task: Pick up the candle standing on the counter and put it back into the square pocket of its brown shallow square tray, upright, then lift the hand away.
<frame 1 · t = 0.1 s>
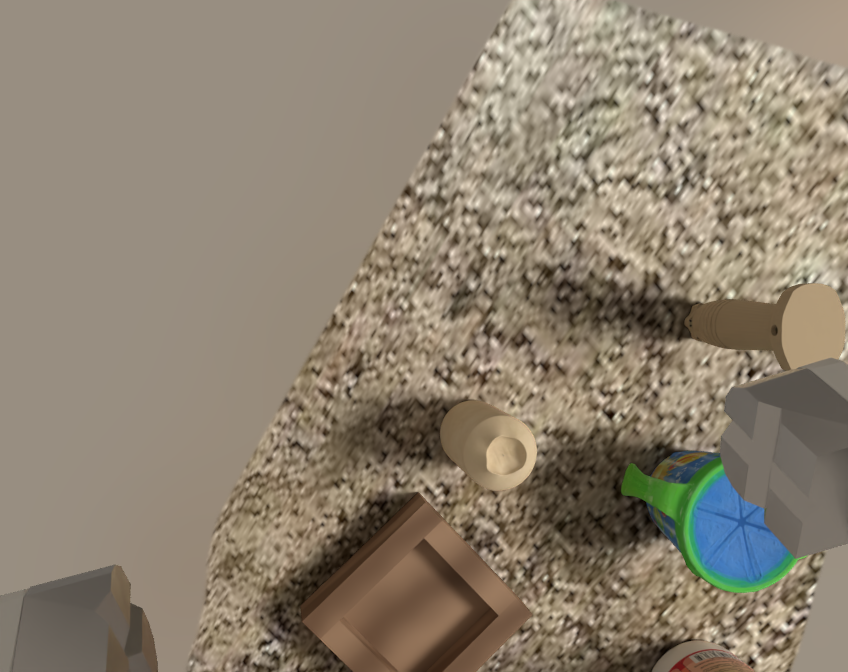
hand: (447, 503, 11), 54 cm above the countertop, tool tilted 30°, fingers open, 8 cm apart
brown shallow square tray: (413, 602, 67), on the countertop
snack cup: (680, 491, 71), on the countertop
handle: (698, 321, 70), on the countertop
candle: (471, 432, 67), on the countertop
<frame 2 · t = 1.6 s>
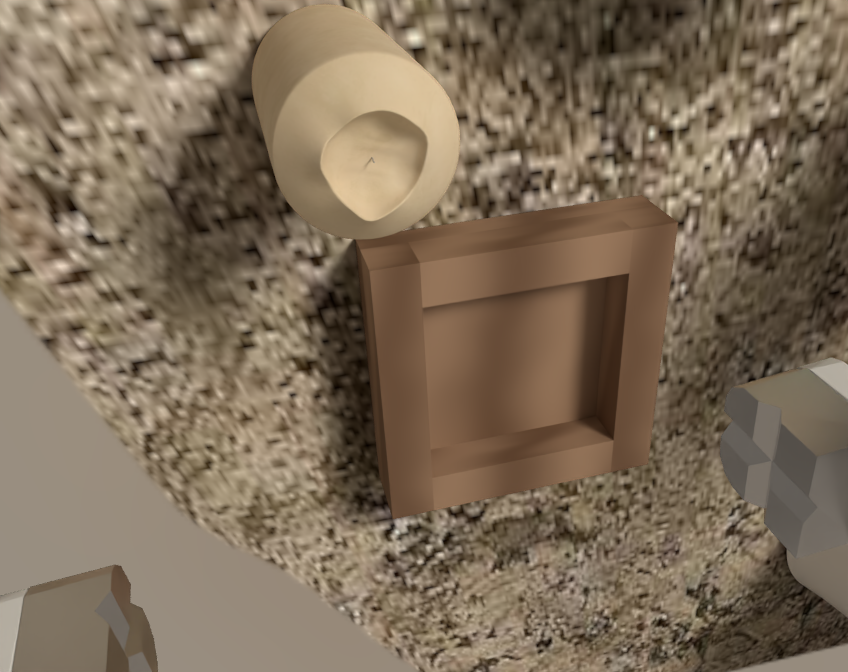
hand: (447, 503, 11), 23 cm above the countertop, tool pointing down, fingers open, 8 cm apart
brown shallow square tray: (502, 343, 38), on the countertop
candle: (324, 79, 31), on the countertop
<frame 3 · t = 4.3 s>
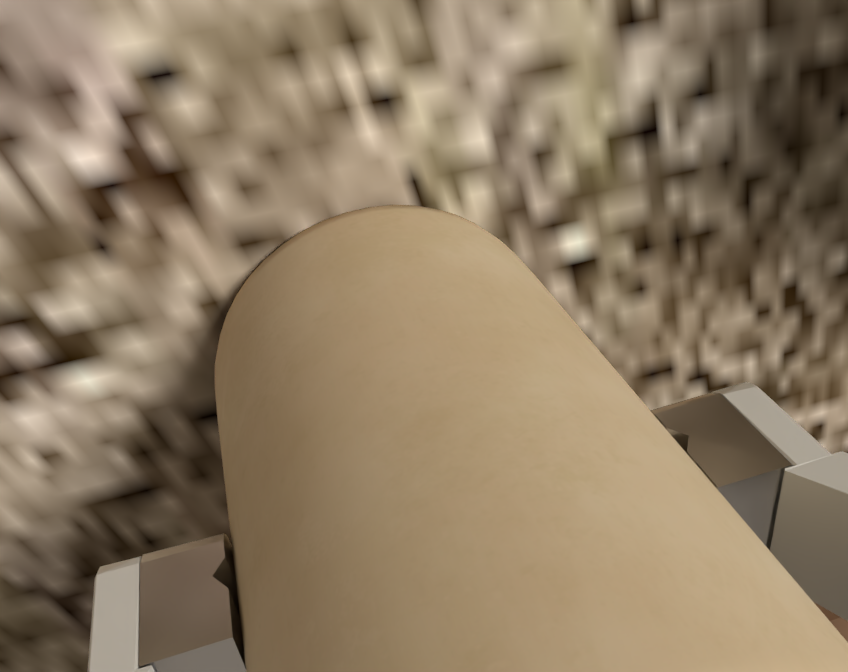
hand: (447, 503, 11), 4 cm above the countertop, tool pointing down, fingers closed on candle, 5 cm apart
candle: (379, 348, 14), on the countertop, touching gripper
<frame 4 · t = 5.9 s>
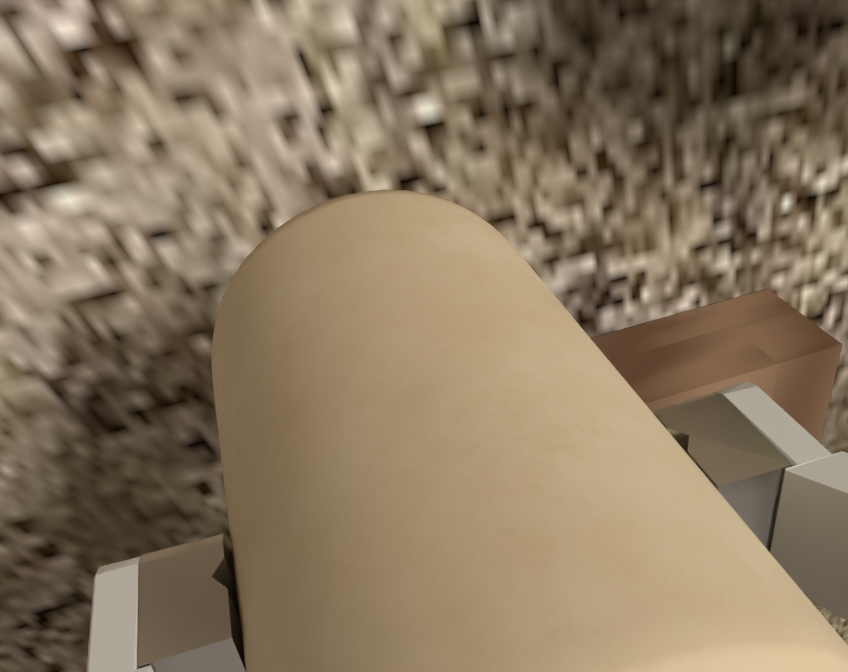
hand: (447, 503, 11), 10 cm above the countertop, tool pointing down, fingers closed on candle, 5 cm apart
brown shallow square tray: (572, 501, 27), on the countertop
candle: (372, 330, 14), point 6 cm above the countertop, touching gripper
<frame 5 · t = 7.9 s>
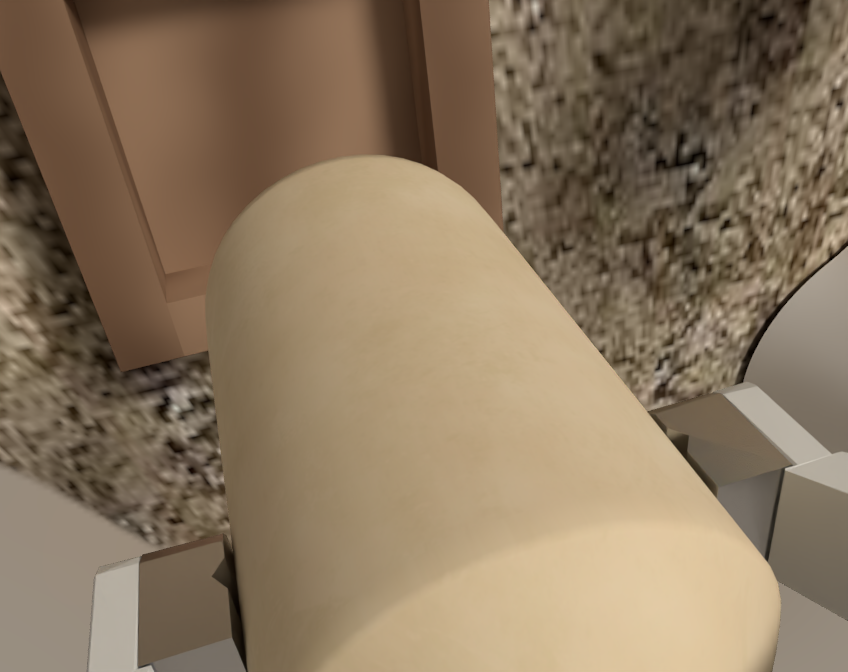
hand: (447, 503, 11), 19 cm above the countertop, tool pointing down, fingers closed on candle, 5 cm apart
brown shallow square tray: (266, 101, 26), on the countertop
candle: (355, 287, 15), point 13 cm above the countertop, touching gripper
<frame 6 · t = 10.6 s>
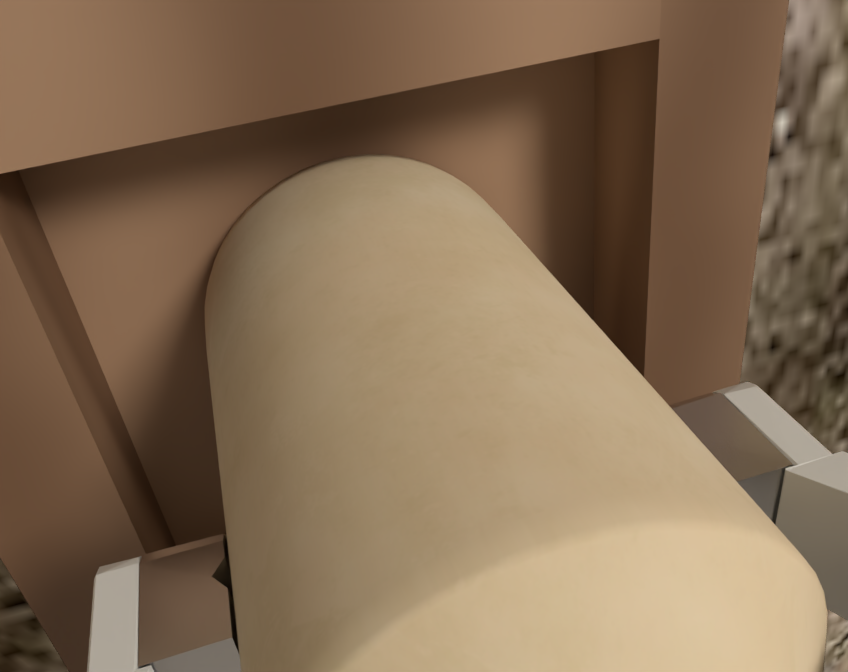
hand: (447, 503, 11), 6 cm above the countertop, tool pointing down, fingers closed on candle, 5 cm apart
brown shallow square tray: (350, 287, 16), on the countertop
candle: (360, 294, 15), point 1 cm above the countertop, touching brown shallow square tray, gripper
when the fingers open (6 cm above the countertop, at t = 11.1 s): candle stays where it is, resting on brown shallow square tray.
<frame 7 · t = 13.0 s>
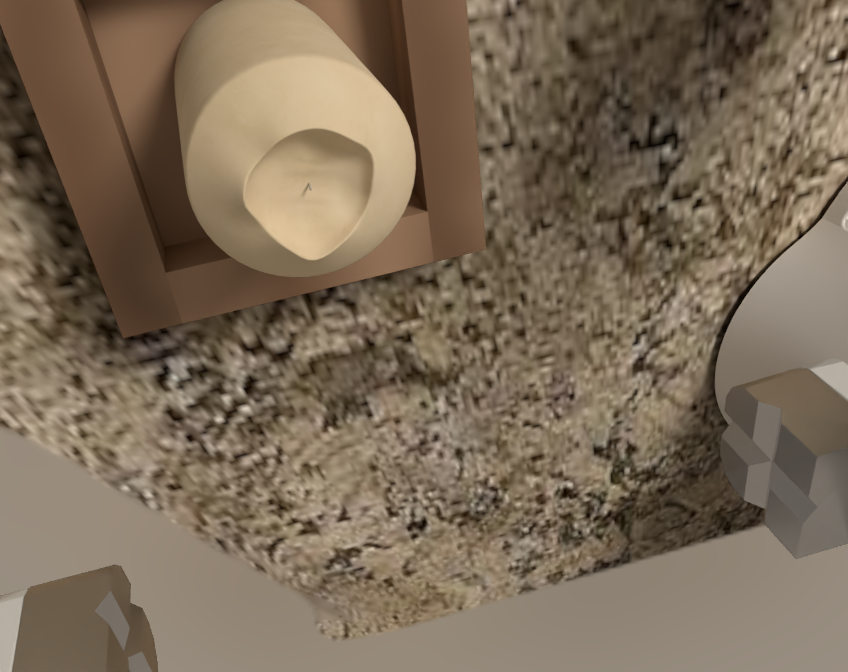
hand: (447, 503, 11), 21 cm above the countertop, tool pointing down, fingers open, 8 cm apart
brown shallow square tray: (259, 83, 27), on the countertop
candle: (261, 79, 26), point 1 cm above the countertop, touching brown shallow square tray
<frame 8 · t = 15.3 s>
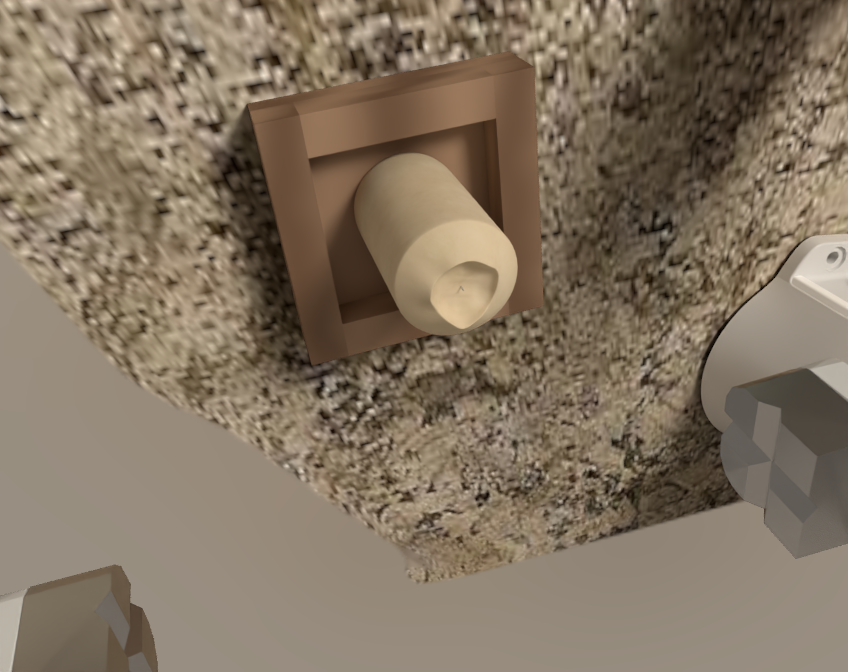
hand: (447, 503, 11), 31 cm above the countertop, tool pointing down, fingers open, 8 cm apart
brown shallow square tray: (399, 201, 42), on the countertop
candle: (404, 201, 41), point 1 cm above the countertop, touching brown shallow square tray
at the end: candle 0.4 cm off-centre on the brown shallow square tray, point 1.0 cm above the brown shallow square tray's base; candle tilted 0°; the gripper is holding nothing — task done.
